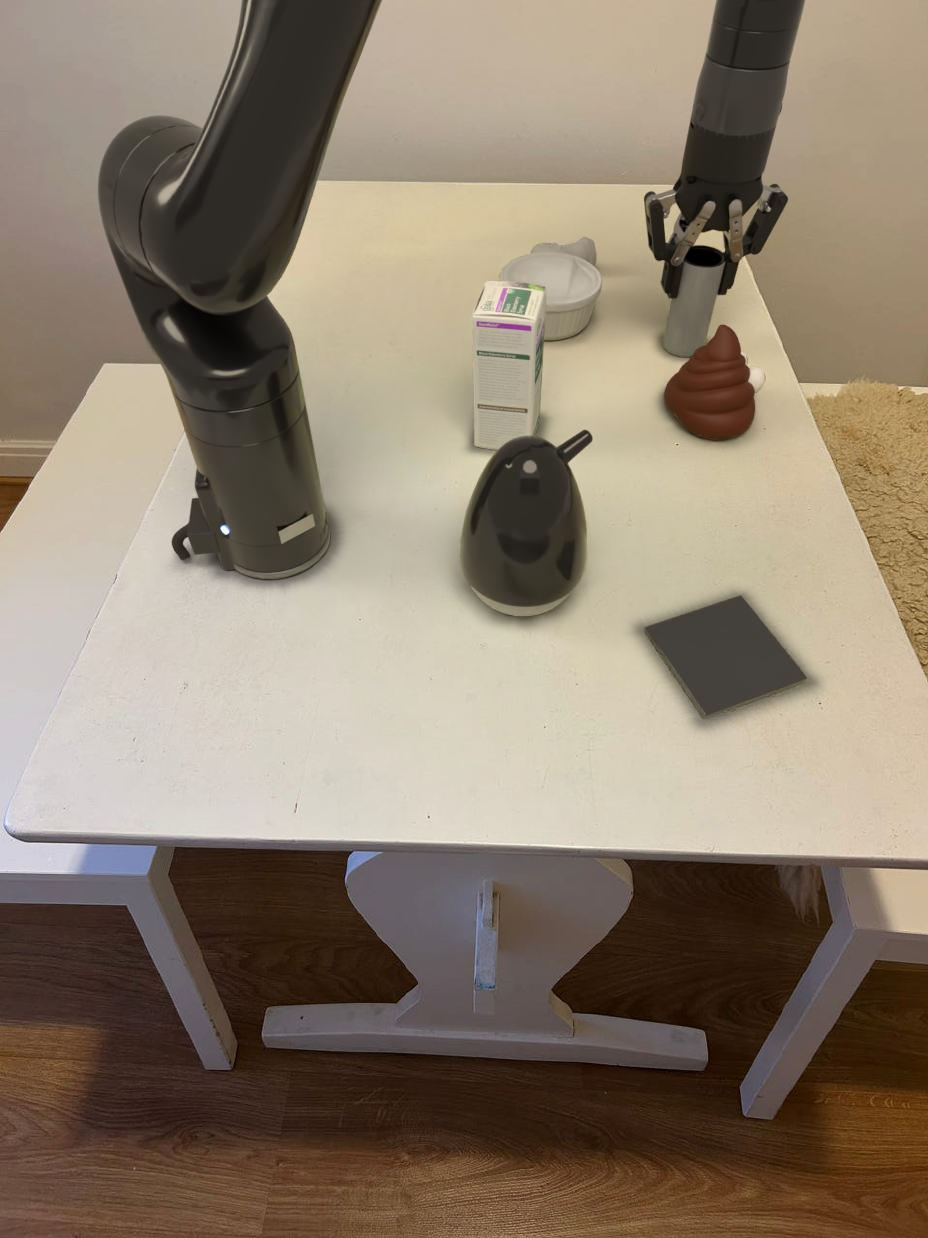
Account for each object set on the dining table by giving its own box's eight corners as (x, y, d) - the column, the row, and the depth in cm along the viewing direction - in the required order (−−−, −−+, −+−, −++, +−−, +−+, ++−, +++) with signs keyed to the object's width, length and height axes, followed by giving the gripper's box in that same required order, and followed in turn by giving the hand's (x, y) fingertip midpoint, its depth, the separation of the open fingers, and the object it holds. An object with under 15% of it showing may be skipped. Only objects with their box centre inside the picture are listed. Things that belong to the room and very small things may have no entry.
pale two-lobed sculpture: (531, 292, 102) (526, 260, 104) (596, 288, 102) (590, 256, 104) (533, 266, 98) (528, 232, 100) (601, 261, 98) (595, 228, 100)
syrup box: (531, 455, 81) (540, 319, 70) (471, 447, 82) (471, 311, 70) (539, 419, 84) (550, 283, 73) (482, 412, 85) (483, 277, 74)
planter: (699, 333, 94) (720, 243, 86) (707, 357, 91) (730, 266, 83) (658, 334, 94) (676, 244, 86) (666, 358, 91) (685, 267, 83)
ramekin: (614, 334, 94) (620, 290, 90) (523, 356, 91) (525, 312, 87) (569, 286, 101) (573, 243, 96) (483, 305, 98) (484, 261, 94)
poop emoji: (646, 393, 87) (662, 311, 80) (717, 376, 89) (739, 294, 82) (696, 452, 81) (718, 369, 74) (771, 432, 83) (800, 349, 76)
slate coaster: (704, 720, 62) (705, 715, 61) (643, 631, 67) (645, 626, 67) (805, 682, 64) (808, 677, 63) (739, 599, 69) (741, 594, 69)
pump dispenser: (607, 604, 69) (636, 460, 57) (500, 654, 66) (506, 514, 54) (540, 528, 75) (553, 383, 63) (438, 571, 71) (431, 427, 60)
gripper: (796, 94, 77) (748, 270, 91) (645, 101, 76) (619, 279, 90) (828, 126, 73) (773, 307, 86) (667, 135, 72) (636, 317, 85)
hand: (694, 292), depth 88 cm, fingers closed on planter, 4 cm apart
